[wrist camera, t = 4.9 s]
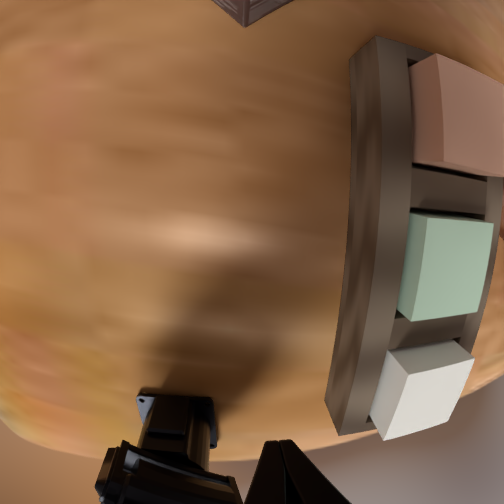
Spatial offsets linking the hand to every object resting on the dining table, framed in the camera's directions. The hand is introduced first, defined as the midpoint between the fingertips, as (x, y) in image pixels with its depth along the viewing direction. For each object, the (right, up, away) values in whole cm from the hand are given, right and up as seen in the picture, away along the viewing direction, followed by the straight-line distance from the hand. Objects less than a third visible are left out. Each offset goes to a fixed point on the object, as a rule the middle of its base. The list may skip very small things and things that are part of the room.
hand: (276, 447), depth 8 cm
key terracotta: (+11, +15, +8) cm, 20 cm away
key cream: (+11, -3, +12) cm, 17 cm away
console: (+11, +6, +12) cm, 18 cm away
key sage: (+11, +6, +11) cm, 17 cm away
